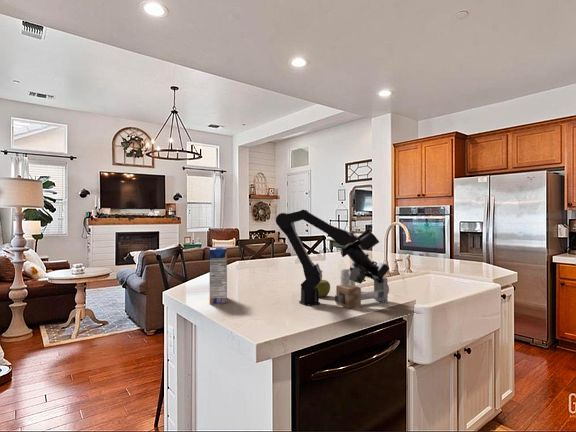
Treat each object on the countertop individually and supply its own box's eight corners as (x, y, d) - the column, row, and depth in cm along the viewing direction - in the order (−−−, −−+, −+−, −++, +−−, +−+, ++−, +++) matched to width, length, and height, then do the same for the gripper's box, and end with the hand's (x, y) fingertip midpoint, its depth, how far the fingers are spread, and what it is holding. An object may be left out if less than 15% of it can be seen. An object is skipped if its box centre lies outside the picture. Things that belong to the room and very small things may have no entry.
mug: (353, 289, 174) (353, 264, 174) (360, 294, 162) (360, 267, 162) (338, 289, 173) (338, 264, 173) (344, 294, 161) (344, 268, 161)
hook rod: (341, 307, 136) (341, 282, 136) (332, 304, 141) (332, 280, 141) (389, 301, 146) (389, 278, 146) (379, 298, 151) (379, 275, 152)
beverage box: (209, 304, 143) (209, 249, 144) (210, 298, 154) (210, 247, 154) (226, 303, 145) (226, 249, 145) (226, 297, 156) (226, 247, 156)
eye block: (348, 308, 136) (348, 289, 136) (336, 304, 143) (336, 285, 143) (360, 307, 138) (360, 287, 139) (348, 302, 146) (348, 284, 146)
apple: (328, 299, 153) (328, 282, 153) (310, 297, 155) (310, 281, 155) (331, 295, 160) (331, 279, 160) (314, 294, 162) (314, 278, 162)
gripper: (333, 268, 148) (354, 293, 152) (361, 275, 131) (384, 302, 135) (348, 249, 151) (369, 273, 156) (378, 252, 134) (400, 280, 139)
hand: (379, 282), depth 146 cm, fingers closed, pressing on hook rod
